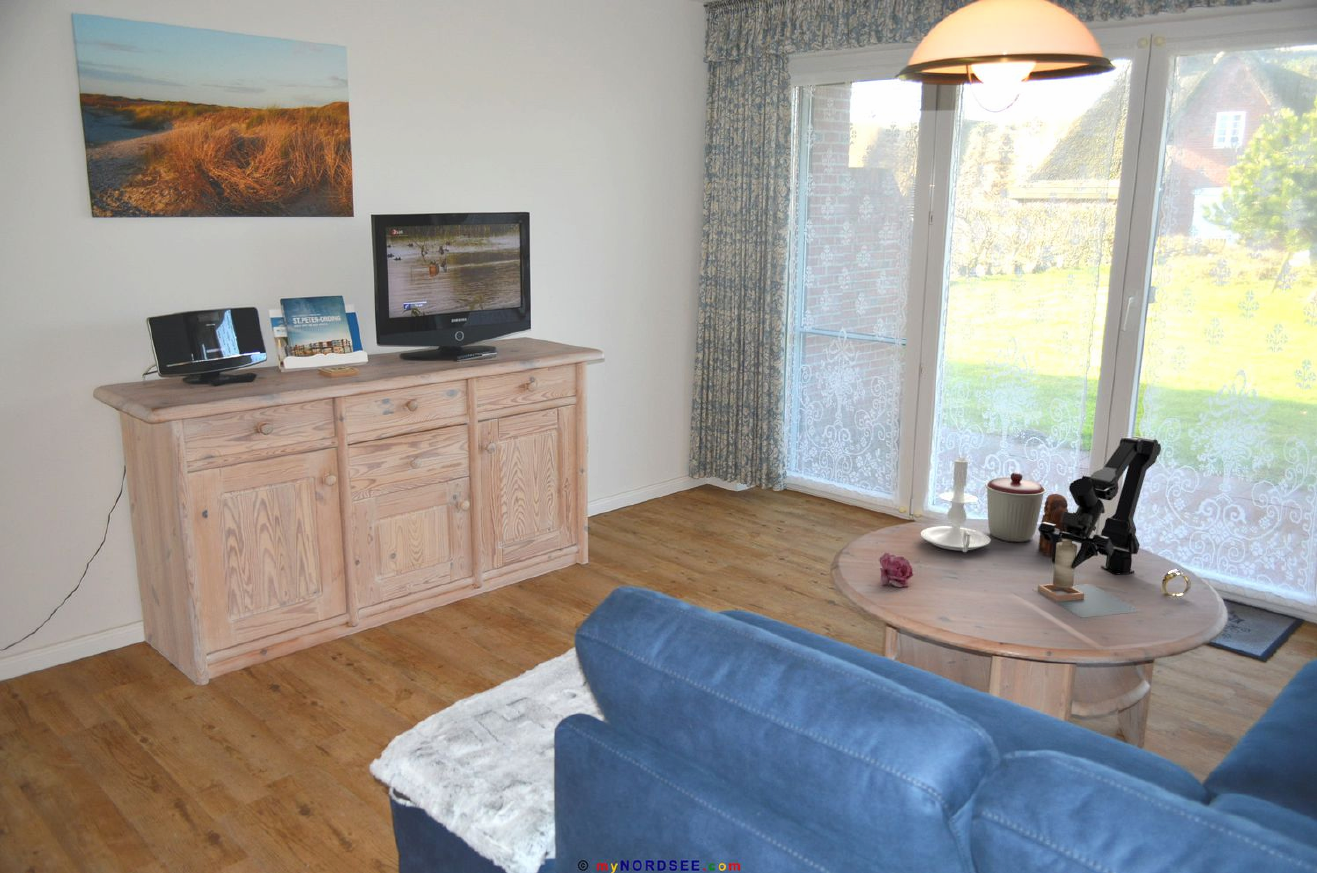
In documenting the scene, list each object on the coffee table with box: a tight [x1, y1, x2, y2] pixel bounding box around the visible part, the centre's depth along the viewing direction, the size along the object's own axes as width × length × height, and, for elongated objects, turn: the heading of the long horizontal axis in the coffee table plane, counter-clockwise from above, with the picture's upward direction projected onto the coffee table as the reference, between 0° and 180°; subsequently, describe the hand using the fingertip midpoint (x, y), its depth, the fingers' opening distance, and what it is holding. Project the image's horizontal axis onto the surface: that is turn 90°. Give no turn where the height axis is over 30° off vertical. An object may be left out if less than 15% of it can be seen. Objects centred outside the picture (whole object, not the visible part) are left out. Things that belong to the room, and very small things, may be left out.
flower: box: [878, 552, 914, 588], centre depth 273 cm, size 10×9×9 cm
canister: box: [984, 471, 1047, 543], centre depth 312 cm, size 18×18×21 cm
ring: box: [1161, 568, 1192, 599], centre depth 263 cm, size 7×3×8 cm, turn 79°
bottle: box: [1052, 539, 1078, 588], centre depth 262 cm, size 5×5×12 cm
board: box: [1032, 583, 1143, 619], centre depth 259 cm, size 20×18×2 cm
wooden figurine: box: [1038, 493, 1069, 559], centre depth 298 cm, size 12×6×18 cm, turn 176°
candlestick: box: [920, 457, 992, 553], centre depth 300 cm, size 21×25×28 cm
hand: (1062, 565), depth 261 cm, fingers closed on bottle, 5 cm apart
